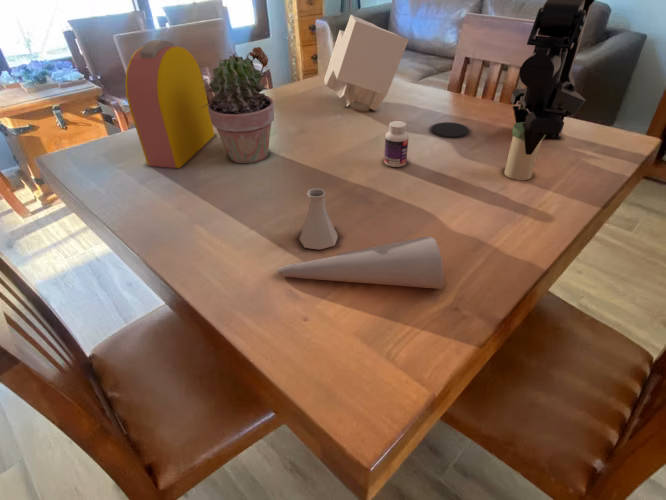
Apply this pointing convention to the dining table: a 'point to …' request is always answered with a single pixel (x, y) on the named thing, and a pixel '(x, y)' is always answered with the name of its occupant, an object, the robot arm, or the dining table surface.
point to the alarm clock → (167, 103)
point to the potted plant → (241, 107)
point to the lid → (520, 131)
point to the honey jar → (520, 160)
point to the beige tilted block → (364, 62)
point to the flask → (317, 223)
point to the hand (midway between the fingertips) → (525, 147)
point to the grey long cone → (379, 265)
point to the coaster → (450, 130)
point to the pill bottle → (396, 144)
